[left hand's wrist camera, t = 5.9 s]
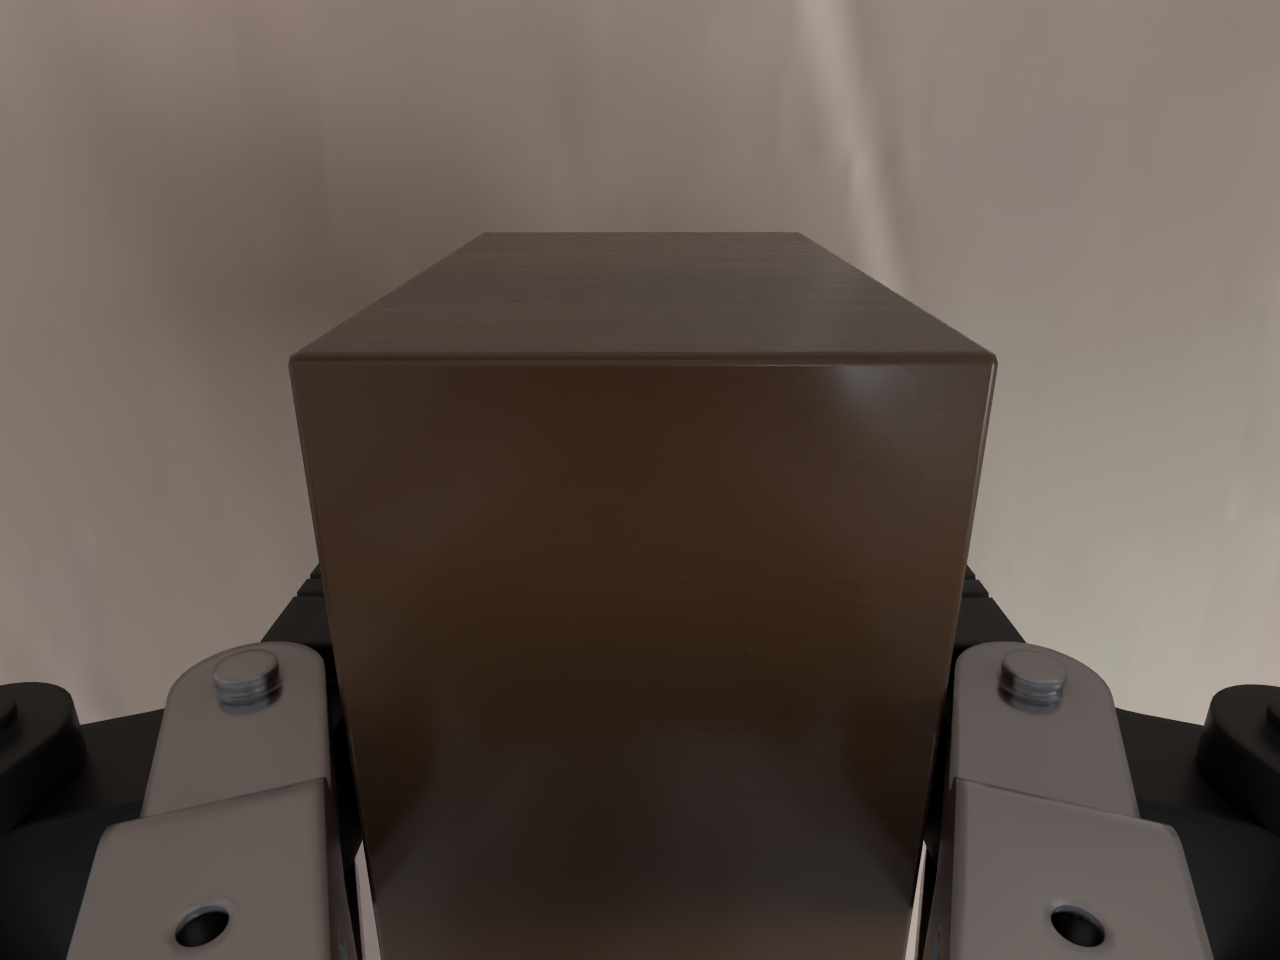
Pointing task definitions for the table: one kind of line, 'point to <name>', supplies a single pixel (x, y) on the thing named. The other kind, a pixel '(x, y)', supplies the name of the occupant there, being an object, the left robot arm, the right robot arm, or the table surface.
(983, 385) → the bar
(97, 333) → the table surface
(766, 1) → the table surface
